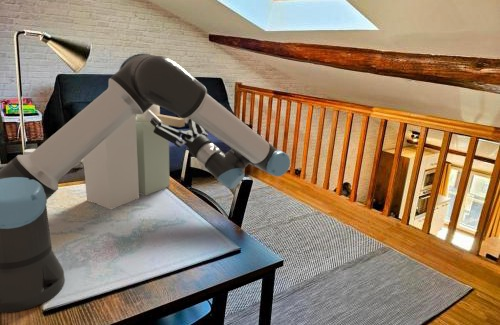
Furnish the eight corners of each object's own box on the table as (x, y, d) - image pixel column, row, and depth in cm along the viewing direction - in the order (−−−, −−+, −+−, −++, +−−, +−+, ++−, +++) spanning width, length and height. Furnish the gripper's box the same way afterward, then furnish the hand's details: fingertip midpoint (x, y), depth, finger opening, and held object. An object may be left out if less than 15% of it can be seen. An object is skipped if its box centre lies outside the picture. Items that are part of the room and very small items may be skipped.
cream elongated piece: (190, 125, 123) (190, 107, 121) (173, 128, 117) (173, 110, 115) (148, 117, 133) (148, 100, 131) (131, 119, 127) (130, 102, 125)
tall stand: (139, 198, 126) (135, 113, 117) (110, 209, 116) (103, 117, 108) (116, 190, 132) (111, 108, 123) (87, 200, 122) (79, 112, 114)
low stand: (169, 186, 139) (168, 119, 131) (145, 195, 129) (143, 123, 121) (147, 179, 144) (145, 115, 137) (123, 187, 135) (119, 118, 127)
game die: (82, 177, 153) (87, 162, 148) (60, 171, 150) (65, 156, 144) (86, 161, 160) (91, 147, 154) (65, 156, 156) (70, 141, 150)
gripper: (231, 135, 126) (191, 99, 131) (182, 149, 105) (137, 105, 111) (222, 151, 129) (183, 115, 135) (173, 167, 109) (130, 124, 115)
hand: (162, 110), depth 123 cm, fingers open, 13 cm apart
